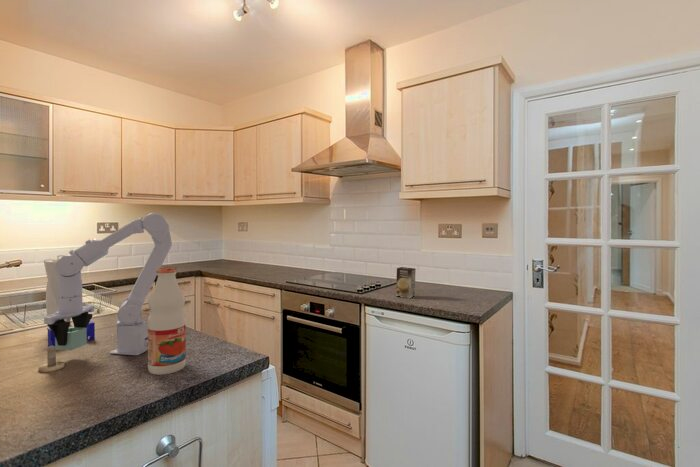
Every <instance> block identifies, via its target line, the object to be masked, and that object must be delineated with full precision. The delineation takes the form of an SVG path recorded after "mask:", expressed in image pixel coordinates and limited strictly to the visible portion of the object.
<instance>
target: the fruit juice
mask: <svg viewBox="0 0 700 467" xmlns="http://www.w3.org/2000/svg"><path fill="white" fill-rule="evenodd" d="M177 272H178V270H177V268H176V267H171V266H169V267H168V266H166V267H161V268H158V269H157V279H156V282H155V286H154V289H153V291H152V292H151V293H150V294H149V296H148V298H147V300H148V301H147V306H148V308H149V315H148V318H147V323H148V350H147V370H148V372H149V373H150V374H152V375H157V376H158V375H159V376H161V375H162V376H163V375H170V374H173V373H177V372H179V371H182V369H184V368H185V367H186V362H187V361H186V358H187V357H186V355H187V353H186V352H187V351H186V348H187V347H186V346H187V344H186V339H187V338H186V335H187V334H186V333H187V332H186V328H187V326H186V313H185V311H184V306H185V302H186V296H185V293H184V292H183V290H181V288H180V286H179V284H178V283H179V282H178V280H177V276H176V274H177Z"/></svg>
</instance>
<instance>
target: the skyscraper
mask: <svg viewBox="0 0 700 467" xmlns="http://www.w3.org/2000/svg"><path fill="white" fill-rule="evenodd" d="M63 256H66V255H65V254H59V255H57V256H56V258H47V259H44V261H43V264H44V269H45V273H46V278H47V282H46V287H45V306H46V307H45V308H46V317H47V316H50V315H52V314H54V313H56V311H58V272H57V271H56V267H55V266H56V263H57V261H58V260H59V259H60V258H61V257H63ZM59 257H60V258H59ZM64 321H65V322H71V321H72V318H68V319H65V320H64ZM71 323H72V322H71ZM71 323H70V326H69V327H74V325H72V324H71ZM46 329H47V330H48V329H50V328H49V327H48V326H47V327H46Z"/></svg>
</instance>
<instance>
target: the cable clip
mask: <svg viewBox="0 0 700 467" xmlns="http://www.w3.org/2000/svg"><path fill="white" fill-rule="evenodd" d="M95 324H96V323H95V322H94V321H92V320H90V322H89V323H88V326H87V328H86V333H87V342H88V341H94V340H95V339H96V338H95V337H96V334H95V333H96V332H95V331H96V329H95V328H96V327H95ZM49 346H55V335H54V333H53V332H52V330H51V329H47V348H48V347H49Z"/></svg>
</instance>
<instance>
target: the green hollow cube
mask: <svg viewBox="0 0 700 467" xmlns="http://www.w3.org/2000/svg"><path fill="white" fill-rule="evenodd" d="M87 344H88V341H87V333H86V328H81V327H74V326H73V327H69V329H68V334H67V344H66V345H65V346H59V345H58V343H57V340H56V338H55V347H56V350H59V351H60V350H61V351H73V350H75V349H78V348H81V347H83V346H85V345H87Z"/></svg>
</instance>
